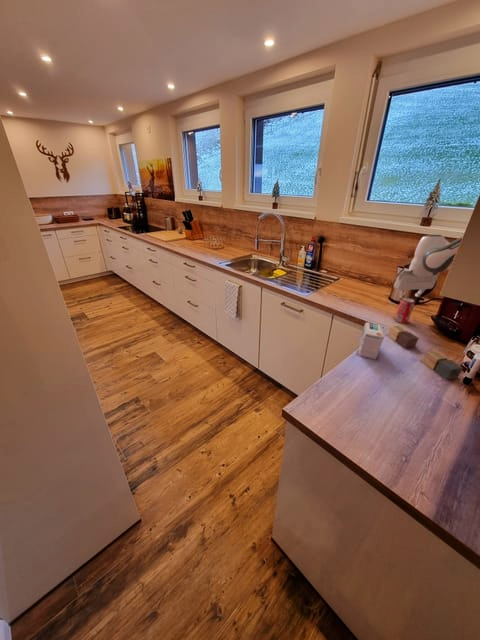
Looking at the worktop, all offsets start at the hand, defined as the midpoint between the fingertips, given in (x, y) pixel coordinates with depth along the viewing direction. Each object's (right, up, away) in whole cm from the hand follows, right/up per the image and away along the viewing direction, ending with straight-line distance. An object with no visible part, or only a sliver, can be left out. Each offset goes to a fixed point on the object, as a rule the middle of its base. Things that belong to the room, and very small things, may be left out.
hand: (409, 297), depth 129 cm
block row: (-9, -26, -20) cm, 34 cm away
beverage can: (0, -12, +7) cm, 14 cm away
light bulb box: (-30, -25, -19) cm, 43 cm away
